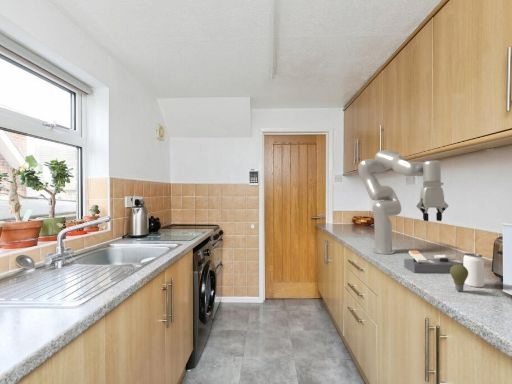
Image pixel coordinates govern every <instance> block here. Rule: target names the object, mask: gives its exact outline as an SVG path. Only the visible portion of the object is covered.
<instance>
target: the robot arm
mask: <svg viewBox="0 0 512 384" xmlns="http://www.w3.org/2000/svg"><path fill="white" fill-rule="evenodd" d="M374 155H375V156H374V158H373V159H372V158H370V159H369V158H367V159H366V158H365V159H363V160H361V161H360V162H359V164H358V168H357V171H358V175H359V177H360V179H361V181H362V183H363V184H364V186H365V189H366V191H367V194H368V197H369V198H370V199H371V200H372V201H375V202H374V203H373V205H372V213H373V219H374V248H372V252H373V253H376V254H380V255H381V254H382V255H392V254H396V251H395V250H394V249H393V236H392V235H393V231H392V230H393V228H392V221H391V218H390V217H393V216H397V215H400V214H401V212H402V205H401V202H400V200H399V198H398V196H397V194H396V192H395V190H394V189H393V187H392V186H389V185H381V184H380V182H379V179H378V178H377V176H376V175H374V174H373V173H383V172H385V171H387V170H388V169H390V168H391V169H392V170H393V171H394V172H396V173H399V174H401V175H403V176H407V177H422V184H423V185H422V186H423V187H422V188H421V189H420V193H419V202H418V203H417V205H416V206H415V207H416V208H417V209H418V210H419V211H420V212H421V213H422V219H423V221H424V222H429V213H428V211H429V209H430V208H432V209H433V208H436V211H437V212H436V215H435V218H436V221H437V222H442V220H443V213H444V212H445V211H446V209H447V208H448V207H449V204H448V203H447V202H446V201H445V194H444V189H443V187H442V186H444V183H443V182H442V181H441V180H442V178H441V177H442V176H441V173H442V172H441V171H442V170H441V167H442V166H441V162H440V161H439V160H436V159H435V160H425V161H409V160H405V158H404V156H403V155H401V154H399V152H398V151H396V150H389V149H388V150H387V149H384V150H383V149H382V150H379V151H377V152H376V153H375V154H374Z"/></svg>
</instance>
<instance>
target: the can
mask: <svg viewBox="0 0 512 384" xmlns="http://www.w3.org/2000/svg"><path fill="white" fill-rule="evenodd" d="M462 260H463V261H462V262H463V266H464V267H465V268H466V269H467V270H468V277H467V279H466V280H465V283H464V285H466V286H468V287H473V288H477V289H478V288H484V287H485V260H484V258H483V255H482V254H479V253H471V252H469V253H468V252H467V253H464V256H463V259H462Z"/></svg>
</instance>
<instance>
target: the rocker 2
mask: <svg viewBox="0 0 512 384" xmlns="http://www.w3.org/2000/svg"><path fill="white" fill-rule="evenodd" d="M433 257H434V258H433V259H440V258H448V259H452V258H455V254H434V255H433Z"/></svg>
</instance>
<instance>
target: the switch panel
mask: <svg viewBox="0 0 512 384" xmlns="http://www.w3.org/2000/svg"><path fill="white" fill-rule="evenodd" d="M426 259H427V262H417V261H416V260H415V259H414V258H413V257H412V258H404V259H403V262H404V263H403V264H404V265H403V266H404V267H403V268H405V269H406V270H409V271H410V272H411V273H413V274H450V268H451V267H452V266H453V265H456V264H459V265H463V261H461V260H459V259H456V258H426Z"/></svg>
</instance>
